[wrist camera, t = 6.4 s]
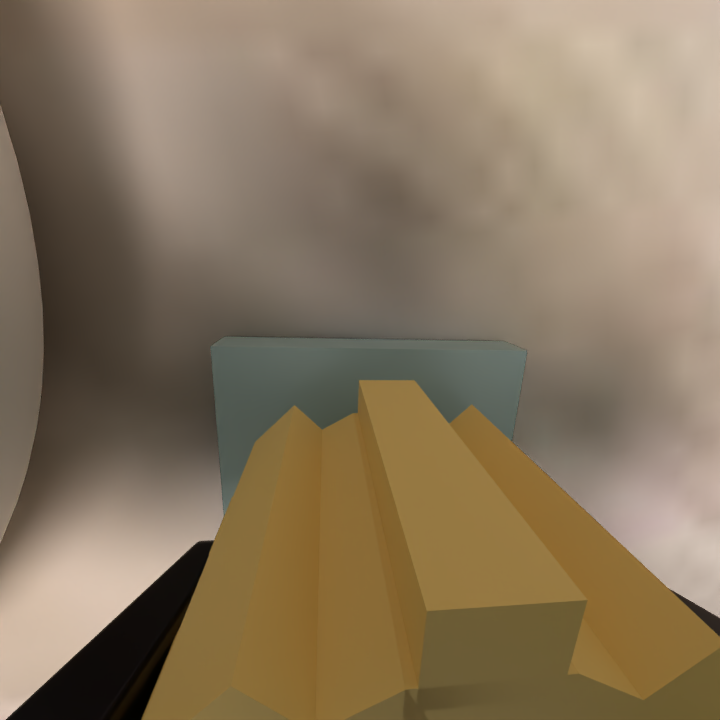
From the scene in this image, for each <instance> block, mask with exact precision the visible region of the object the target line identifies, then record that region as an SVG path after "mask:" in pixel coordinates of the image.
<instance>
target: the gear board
mask: <svg viewBox="0 0 720 720" xmlns="http://www.w3.org/2000/svg"><path fill="white" fill-rule="evenodd" d="M210 348H211V360H212V373H213V385H214V398H215V410H216V423H217V435H218V448H219V460H220V473H221V485H222V498H223V510H224V515H225V513H226V510H227V508H228V506H229V503H230V501H231V498H232V497H233V495H234V493H235V490H236V488H237V485H238V483H239V480H240V478H241V475H242V473H243V471H244V468H245V466H246V463H247V461H248V458H249V456H250V453H251V451H252V448H253V446H254V443H255V442H256V441H257V440H258V439H259V438H260V437H261V436H262V435H263V434H264V433H265V432H266V431H267V430H268V429H269V428H271V427H272V426H273V425H274V424H275V423H276V422H277V421H278V420H279V419H280V418H281V417H282V416H283V415H284V414H285V413H287V412H288V411H289V410H290V409H291V408H292V407H293V406H294V405H295V406H296V407H297V408H298V409H300V410H301V411H302V412H303V413H304V414H305V415H306V416H307V417H308V418H310V419H311V420H312V421H313V422H314V423H315V424H316V425H317V426H318V427H320V428H321V429H324V428H326V427H328V426H330V425H332V424H334V423H336V422H337V421H339V420H341V419H343V418H345V417H347V416H349V415H351V414H352V413H358V392H359V380H415V381H416V383H417V384H418V385H419V386H420V388H421V389H422V390H423V391H424V393H425V394H426V395H427V397H428V398H429V399H430V400H431V402H432V403H433V404H434V405H435V407H436V408H437V409H438V411H439V412H440V413H441V414H442V416H443V417H444V418H445V419H446V421H447V422H448V423H451V422H452V421H453V420H454V419H455V418H456V417H458V416H459V415H460V414H461V413H462V412H463V411H465V410H466V409H467V408H468V407H469V406H470V405H471V404H472V405H473V406H474V407H475V408H476V409H477V410H479V411H480V412H481V413H482V414H483V415H484V416H485V417H486V418H487V419H488V420H489V421H490V422H491V423H492V424H493V425H494V426H496V427H497V428H498V429H499V430H500V431H501V432H502V433H503V434H504V435H505V436H506V437H507V438H508V439H509V440H510V441H512V438H513V432H514V426H515V421H516V415H517V409H518V403H519V397H520V391H521V386H522V380H523V374H524V368H525V362H526V356H527V350H525V349H522V348H520V347H517V346H515V345H512V344H510V343H508V342H505V341H468V340H408V339H349V338H289V337H230V336H225V337H223V338H222V339H220V340H219V341H217V342H216V343H215V344H213V345H212V346H210Z"/></svg>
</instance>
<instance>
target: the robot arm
mask: <svg viewBox="0 0 720 720" xmlns="http://www.w3.org/2000/svg"><path fill="white" fill-rule="evenodd" d="M213 542H214V540H211V541H199V542H198V543H196V544H195V545H194V546H193V547H192V548H190V549H189V550H188V551H187V552H186V553H185V554H184V555H183V556H182V557H181V558H180V559H179V560H177V561H176V562H175V563H174V564H173V565H172V566H171V567H170V568H169V569H168V570H167V571H166V572H165V573H163V574H162V575H161V576H160V577H159V578H158V579H157V580H156V581H155V582H154V583H153V584H152V585H151V586H149V587H148V588H147V589H146V590H145V591H144V592H143V593H142V594H141V595H140V596H139V597H138V598H136V599H135V600H134V601H133V602H132V603H131V604H130V605H129V606H128V607H127V608H126V609H125V610H124V611H122V612H121V613H120V614H119V615H118V616H117V617H116V618H115V619H114V620H113V621H112V622H111V623H109V624H108V625H107V626H106V627H105V628H104V629H103V630H102V631H101V632H100V633H99V634H98V635H97V636H95V637H94V638H93V639H92V640H91V641H90V642H89V643H88V644H87V645H86V646H85V647H84V648H83V649H81V650H80V651H79V652H78V653H77V654H76V655H75V656H74V657H73V658H72V659H71V660H70V661H68V662H67V663H66V664H65V665H64V666H63V667H62V668H61V669H60V670H59V671H58V672H57V673H56V674H54V675H53V676H52V677H51V678H50V679H49V680H48V681H47V682H46V683H45V684H44V685H43V686H42V687H40V688H39V689H38V690H37V691H36V692H35V693H34V694H33V695H32V696H31V697H30V698H29V699H27V700H26V701H25V702H24V703H23V704H22V705H21V706H20V707H19V708H18V709H17V710H16V711H15V712H13V713H12V714H11V715H10V716H9V717H8V718H7V719H6V720H141V719H142V716H143V714H144V711H145V709H146V706H147V704H148V702H149V699H150V697H151V694H152V692H153V689H154V687H155V684H156V682H157V679H158V677H159V675H160V672H161V670H162V667H163V665H164V662H165V660H166V657H167V655H168V653H169V650H170V648H171V645H172V643H173V640H174V638H175V636H176V634H177V632H178V630H179V628H180V626H181V624H182V621H183V619H184V616H185V614H186V611H187V609H188V606H189V604H190V601H191V599H192V597H193V594H194V592H195V589H196V587H197V584H198V582H199V579H200V577H201V574H202V572H203V569H204V567H205V564H206V562H207V559H208V557H209V552H210V550H211V547H212V545H213ZM668 589H669V588H668ZM669 590H670V589H669ZM670 591H672V590H670ZM672 592H673V593H674V594H675V595H676V596H677V597H678V598H679V599H680V600H681V601H682V602H683V603H684V604H685V605H686V606H688V607H689V608H690V609H691V610H692V611H693V612H694V613H695V614H696V615H697V616H698V617H699V618H700V619H701V620H702V621H704V622H705V623H706V624H707V625H708V626H709V627H710V628H711V629H712V630H713V631H714V632H715V633H716V634H717V635H718V636H720V618H719V617H717V616H715V615H714V614H712V613H710V612H708V611H707V610H705V609H703V608H702V607H700V606H698V605H696V604H695V603H693V602H691V601H689V600H688V599H686V598H684V597H682V596H681V595H679V594H677V593H676V592H674V591H672Z"/></svg>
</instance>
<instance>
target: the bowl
mask: <svg viewBox="0 0 720 720" xmlns="http://www.w3.org/2000/svg"><path fill="white" fill-rule="evenodd" d="M43 357H44V337H43V306H42V296H41V286H40V276H39V267H38V259H37V253H36V247H35V241H34V235H33V229H32V224H31V218H30V213H29V208H28V204H27V200H26V196H25V191H24V187H23V183H22V179H21V174H20V170H19V166H18V162H17V158H16V155H15V152H14V148H13V145H12V142H11V138H10V135H9V132H8V128H7V125H6V122H5V118H4V115H3V112H2V108H1V105H0V543H1V540H2V538H3V536H4V533H5V531H6V528H7V526H8V524H9V521H10V519H11V516H12V514H13V511H14V509H15V507H16V504H17V501H18V498H19V495H20V492H21V489H22V485H23V482H24V479H25V476H26V472H27V469H28V465H29V461H30V456H31V452H32V447H33V442H34V438H35V433H36V429H37V423H38V416H39V408H40V400H41V392H42V378H43Z"/></svg>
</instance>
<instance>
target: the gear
mask: <svg viewBox="0 0 720 720" xmlns="http://www.w3.org/2000/svg"><path fill="white" fill-rule="evenodd" d="M141 720H720V636H718V635H717V634H716V633H715V632H714V631H713V630H712V629H711V628H710V627H709V626H708V625H707V624H706V623H705V622H704V621H702V620H701V619H700V618H699V617H698V616H697V615H696V614H695V613H694V612H693V611H692V610H691V609H690V608H689V607H688V606H686V605H685V604H684V603H683V602H682V601H681V600H680V599H679V598H678V597H677V596H676V595H675V594H674V593H673V592H672V591H670V590H669V589H668V588H667V587H666V586H665V585H664V584H663V583H662V582H661V581H660V580H659V579H658V578H657V577H656V576H654V575H653V574H652V573H651V572H650V571H649V570H648V569H647V568H646V567H645V566H644V565H643V564H642V563H641V562H640V561H638V560H637V559H636V558H635V557H634V556H633V555H632V554H631V553H630V552H629V551H628V550H627V549H626V548H625V547H624V546H622V545H621V544H620V543H619V542H618V541H617V540H616V539H615V538H614V537H613V536H612V535H611V534H610V533H609V532H608V531H606V530H605V529H604V528H603V527H602V526H601V525H600V524H599V523H598V522H597V521H596V520H595V519H594V518H593V517H592V516H590V515H589V514H588V513H587V512H586V511H585V510H584V509H583V508H582V507H581V506H580V505H579V504H578V503H577V502H576V501H574V500H573V499H572V498H571V497H570V496H569V495H568V494H567V493H566V492H565V491H564V490H563V489H562V488H561V487H560V486H558V485H557V484H556V483H555V482H554V481H553V480H552V479H551V478H550V477H549V476H548V475H547V474H546V473H545V472H544V471H542V470H541V469H540V468H539V467H538V466H537V465H536V464H535V463H534V462H533V461H532V460H531V459H530V458H529V457H528V456H526V455H525V454H524V453H523V452H522V451H521V450H520V449H519V448H518V447H517V446H516V445H515V444H514V443H513V442H512V441H510V440H509V439H508V438H507V437H506V436H505V435H504V434H503V433H502V432H501V431H500V430H499V429H498V428H497V427H496V426H494V425H493V424H492V423H491V422H490V421H489V420H488V419H487V418H486V417H485V416H484V415H483V414H482V413H481V412H480V411H479V410H477V409H476V408H475V407H474V406H473V405H472V404H471V405H470V406H469V407H468V408H467V409H466V410H465V411H463V412H462V413H461V414H460V415H459V416H458V417H456V418H455V419H454V420H453V421H452V422H451V423H448V422H447V421H446V419H445V418H444V417H443V416H442V414H441V413H440V412H439V411H438V409H437V408H436V407H435V405H434V404H433V403H432V402H431V400H430V399H429V398H428V397H427V395H426V394H425V393H424V391H423V390H422V389H421V388H420V386H419V385H418V384H417V383H416V381H415V380H359V392H358V413H352V414H351V415H349V416H347V417H345V418H343V419H341V420H339V421H337V422H336V423H334V424H332V425H330V426H328V427H326V428H324V429H321V428H320V427H318V426H317V425H316V424H315V423H314V422H313V421H312V420H311V419H310V418H308V417H307V416H306V415H305V414H304V413H303V412H302V411H301V410H300V409H298V408H297V407H296V406H295V405H294V406H293V407H292V408H291V409H290V410H289V411H288V412H287V413H285V414H284V415H283V416H282V417H281V418H280V419H279V420H278V421H277V422H276V423H275V424H274V425H273V426H272V427H271V428H269V429H268V430H267V431H266V432H265V433H264V434H263V435H262V436H261V437H260V438H259V439H258V440H257V441H256V442H255V443H254V446H253V448H252V451H251V453H250V456H249V458H248V461H247V463H246V466H245V468H244V471H243V473H242V475H241V478H240V480H239V483H238V485H237V488H236V490H235V493H234V495H233V497H232V498H231V501H230V503H229V506H228V508H227V510H226V513H225V515H224V518H223V520H222V523H221V525H220V528H219V530H218V532H217V535H216V537H215V540H214V542H213V545H212V547H211V550H210V552H209V557H208V559H207V562H206V564H205V567H204V569H203V572H202V574H201V577H200V579H199V582H198V584H197V587H196V589H195V592H194V594H193V597H192V599H191V601H190V604H189V606H188V609H187V611H186V614H185V616H184V619H183V621H182V624H181V626H180V628H179V630H178V632H177V634H176V636H175V638H174V640H173V643H172V645H171V648H170V650H169V653H168V655H167V657H166V660H165V662H164V665H163V667H162V670H161V672H160V675H159V677H158V679H157V682H156V684H155V687H154V689H153V692H152V694H151V697H150V699H149V702H148V704H147V706H146V709H145V711H144V714H143V716H142V719H141Z"/></svg>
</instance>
